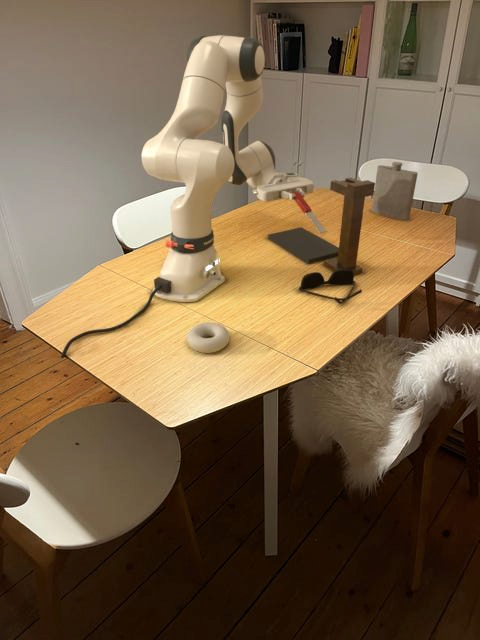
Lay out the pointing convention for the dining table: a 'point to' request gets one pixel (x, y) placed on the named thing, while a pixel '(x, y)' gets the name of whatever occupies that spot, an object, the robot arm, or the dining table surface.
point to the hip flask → (394, 191)
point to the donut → (208, 344)
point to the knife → (308, 212)
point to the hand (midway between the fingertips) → (298, 196)
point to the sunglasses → (329, 282)
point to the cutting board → (304, 245)
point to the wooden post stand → (350, 222)
